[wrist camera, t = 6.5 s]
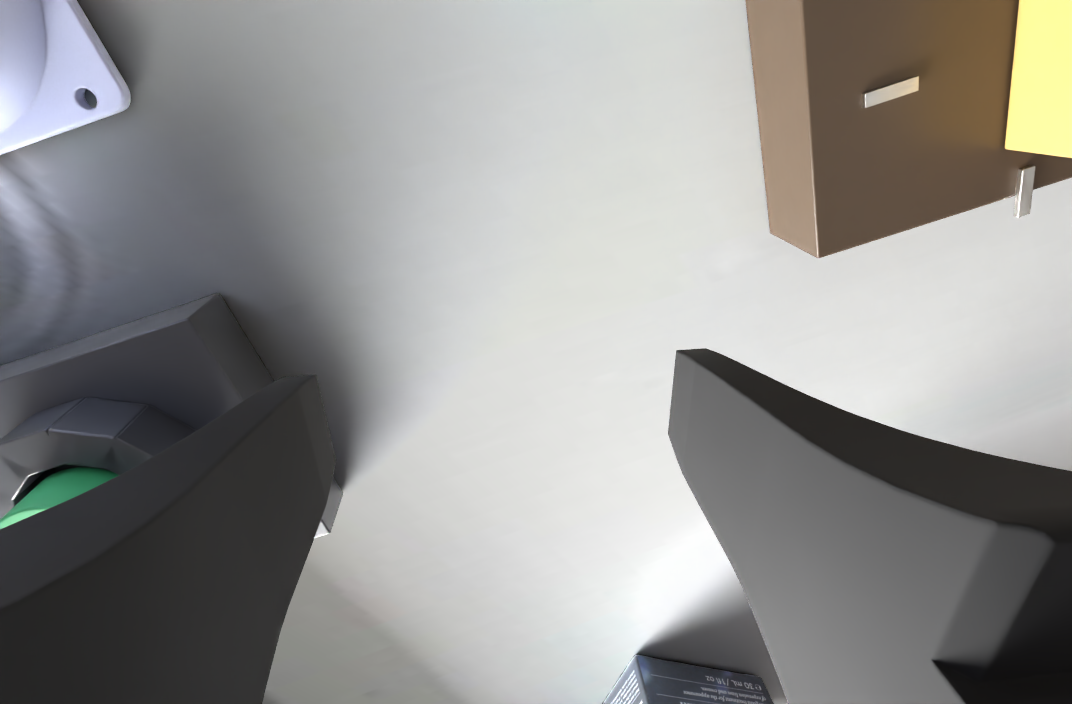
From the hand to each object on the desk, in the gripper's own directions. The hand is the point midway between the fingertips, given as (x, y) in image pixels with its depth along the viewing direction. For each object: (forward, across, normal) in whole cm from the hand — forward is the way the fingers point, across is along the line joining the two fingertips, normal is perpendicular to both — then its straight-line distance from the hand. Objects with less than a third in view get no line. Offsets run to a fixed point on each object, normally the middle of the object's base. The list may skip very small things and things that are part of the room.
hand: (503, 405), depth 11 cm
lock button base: (+8, +12, +6) cm, 16 cm away
